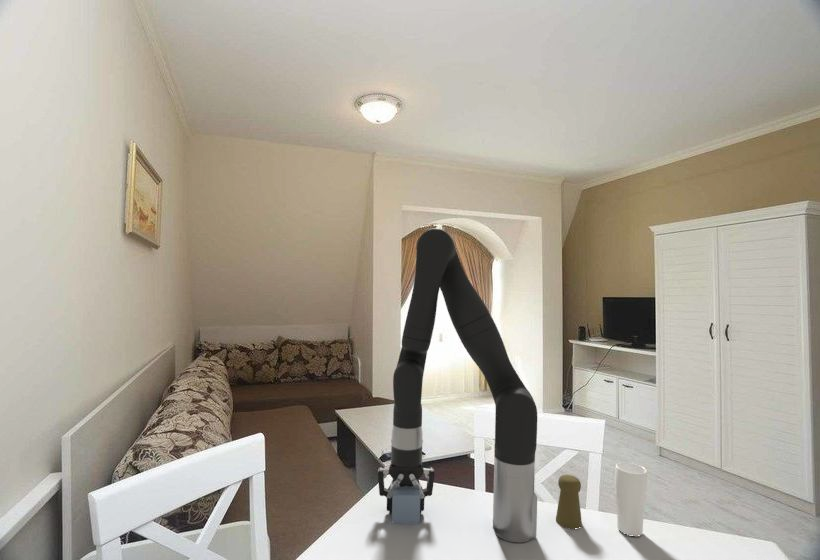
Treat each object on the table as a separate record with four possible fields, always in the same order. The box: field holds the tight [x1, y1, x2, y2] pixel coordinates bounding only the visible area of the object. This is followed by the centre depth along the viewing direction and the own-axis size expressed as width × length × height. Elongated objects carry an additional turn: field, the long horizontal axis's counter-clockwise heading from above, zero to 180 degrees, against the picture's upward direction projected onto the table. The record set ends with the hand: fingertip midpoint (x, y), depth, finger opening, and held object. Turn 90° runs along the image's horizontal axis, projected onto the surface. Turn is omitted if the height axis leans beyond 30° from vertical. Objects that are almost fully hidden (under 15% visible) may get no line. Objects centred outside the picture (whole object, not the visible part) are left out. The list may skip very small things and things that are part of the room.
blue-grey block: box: [391, 485, 421, 525], centre depth 104 cm, size 9×6×8 cm
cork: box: [555, 474, 583, 530], centre depth 105 cm, size 6×6×11 cm
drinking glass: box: [614, 461, 648, 536], centre depth 101 cm, size 7×7×15 cm
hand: (405, 511), depth 104 cm, fingers closed on blue-grey block, 6 cm apart
